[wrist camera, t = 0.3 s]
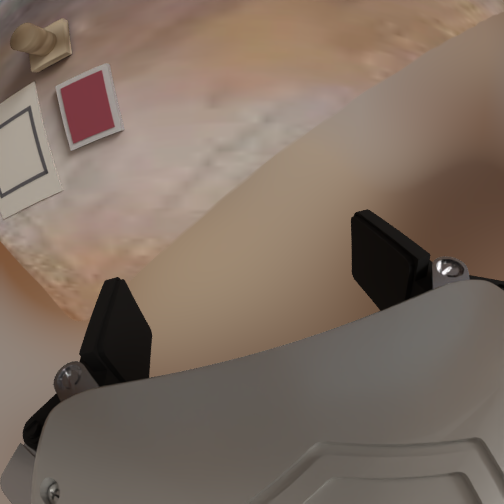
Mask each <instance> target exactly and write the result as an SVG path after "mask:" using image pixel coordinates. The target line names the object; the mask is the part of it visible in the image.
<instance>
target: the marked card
mask: <svg viewBox="0 0 504 504" xmlns="http://www.w3.org/2000/svg"><path fill="white" fill-rule="evenodd" d="M61 191H63V188H62V185H61V182H60V179H59V176H58V173H57V170H56V167H55V163H54V160H53V157H52V153H51V150H50V146H49V143H48V139H47V135H46V131H45V127H44V123H43V119H42V115H41V110H40V105H39V100H38V95H37V90H36V84H35V81H34V82H32V83H31V84H29V85H27V86H26V87H24V88H23V89H21V90H20V91H18V92H17V93H15V94H14V95H12V96H11V97H9V98H8V99H6V100H5V101H3V102H2V103H1V104H0V212H1V214H2V217H3V219H5V218H7V217H9V216H11V215H13V214H15V213H17V212H18V211H20V210H22V209H24V208H26V207H28V206H30V205H32V204H35V203H37V202H39V201H41V200H43V199H45V198H47V197H49V196H52V195H54V194H56V193H58V192H61Z"/></svg>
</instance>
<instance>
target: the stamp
mask: <svg viewBox="0 0 504 504" xmlns="http://www.w3.org/2000/svg"><path fill="white" fill-rule="evenodd" d="M10 46H11V48H12V49H13V50H17V51H22V52H26V53H29V57H30V66H31V72H37V73H38V72H40V71H41V70H43V69H45V68H47V67H48V66H50V65H52V64H54V63H56V62H58V61H60V60H62V59H63V58H65V57H67V56H69V55H71V54H72V50H71V43H70V35H69V27H68V21H66V20H65V19H63V18H62V19H60V20H58V21H56V22H54V23H53V24H51V25H49V26H47V27H45V28H44V29H43V28H40V27H38V26H36V25H33V24H31V23H24V24H22V25H20V26H19V27H18V28H17V29H16V30H15V31H14V33H13V35H12V37H11V40H10Z"/></svg>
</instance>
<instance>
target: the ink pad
mask: <svg viewBox="0 0 504 504" xmlns="http://www.w3.org/2000/svg"><path fill="white" fill-rule="evenodd" d="M55 87H56V92H57V97H58V102H59V106H60V111H61V115H62V119H63V123H64V127H65V131H66V135H67V139H68V142H69V146H70V149H71V151H72V150H74V149H77V148H79V147H81V146H84V145H86V144H88V143H91V142H93V141H96V140H98V139H101V138H103V137H106V136H108V135H111V134H114V133H116V132H119V131H122V130H125V129H124V126H123V122H122V118H121V114H120V110H119V105H118V101H117V97H116V92H115V88H114V83H113V79H112V74H111V69H110V64H108V63H105V64H103V65H100V66H98V67H96V68H93V69H91V70H89V71H86V72H84V73H82V74H80V75H78V76H75V77H73V78H71V79H69V80H67V81H65V82H63V83H61V84H59V85H57V86H55Z"/></svg>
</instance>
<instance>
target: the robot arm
mask: <svg viewBox="0 0 504 504" xmlns="http://www.w3.org/2000/svg"><path fill="white" fill-rule="evenodd" d="M351 236H352V275H353V277H354V279H355V280H356V281H357V283H358V284H359V285H360V286H361V287H362V289H363V290H364V291H365V292H366V293H367V295H368V296H369V297H370V298H371V299H372V301H373V302H374V303H375V304H376V306H377V307H378V308H379V309H380V310H381V311H379V312H377V313H374V314H372V315H369V316H366V317H364V318H361V319H359V320H356V321H353V322H351V323H348V324H345V325H342V326H340V327H337V328H334V329H331V330H328V331H326V332H323V333H320V334H317V335H314V336H311V337H308V338H305V339H302V340H299V341H296V342H292V343H289V344H286V345H283V346H279V347H276V348H273V349H269V350H266V351H262V352H259V353H256V354H252V355H248V356H245V357H241V358H237V359H233V360H229V361H225V362H221V363H217V364H213V365H208V366H204V367H200V368H196V369H191V370H186V371H182V372H177V373H172V374H167V375H162V376H157V377H151V378H149V369H150V355H151V343H152V332H151V329H150V327H149V325H148V323H147V322H146V320H145V318H144V316H143V314H142V313H141V311H140V309H139V307H138V305H137V303H136V301H135V299H134V298H133V296H132V294H131V292H130V290H129V288H128V286H127V284H126V282H125V280H123V279H122V280H121V279H120V278H119V277H116V278H112V279H109V280H106V281H105V282H104V284H103V286H102V289H101V292H100V294H99V297H98V299H97V302H96V305H95V308H94V310H93V313H92V316H91V319H90V322H89V325H88V328H87V331H86V334H85V337H84V340H83V343H82V346H81V349H80V353H79V354H80V356H81V359H80V362H78V361H75V362H70V363H67V364H66V365H64V366H63V367H62V368H61V369H60V370H59V371H58V372H57V374H56V376H55V379H54V388H55V391H56V394H55V395H54V396H53V397H52V398H51V399H50V400H49V401H48V402H47V403H46V404H45V405H44V406H43V407H41V408H40V409H39V410H38V411H37V412H36V413H35V414H34V415H33V416H32V417H31V418H30V419H29V420H28V421H27V422H26V424H25V426H24V429H23V439H24V442H25V444H24V445H23V444H21V443H20V444H19V446H18V448H17V449H16V451H15V453H14V454H13V456H12V458H11V459H10V461H9V463H8V465H7V466H6V468H5V470H4V472H3V474H2V476H1V482H0V484H1V489H2V491H3V493H4V494H5V495H6V497H7V498H8V499H9V501H10V502H11V503H12V504H504V281H499V280H494V279H488V278H483V277H477V276H471V275H469V273H468V269H467V267H466V265H465V264H464V263H463V262H462V261H460V260H458V259H456V258H452V257H439V258H437V259H435V260H434V262H431V261H430V254H429V253H428V252H426V251H425V250H424V249H422V248H421V247H420V246H419V245H417V244H416V243H415V242H413V241H412V240H411V239H409V238H408V237H407V236H405V235H404V234H403V233H401V232H400V231H399V230H397V229H396V228H394V227H393V226H391V225H390V224H389V223H387V222H386V221H384V220H383V219H382V218H380V217H379V216H377V215H376V214H374V213H373V212H371V211H370V210H363V211H359V212H356V213H355V214H354V217H352V218H351Z"/></svg>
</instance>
